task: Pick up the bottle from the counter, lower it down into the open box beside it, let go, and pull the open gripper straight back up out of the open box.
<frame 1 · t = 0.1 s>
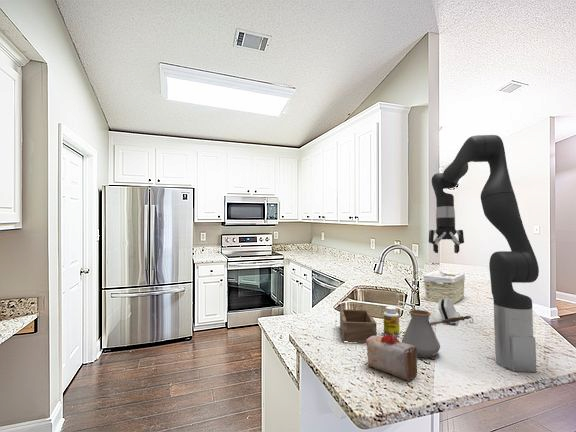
hand: (446, 253, 134), 29 cm above the counter, tool pointing down, fingers open, 8 cm apart
supplement bottle: (391, 335, 113), on the counter
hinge: (449, 320, 131), on the counter
food item: (390, 371, 85), on the counter
coffee pot: (436, 358, 93), on the counter
open box: (356, 334, 113), on the counter
storage basket: (444, 299, 170), on the counter
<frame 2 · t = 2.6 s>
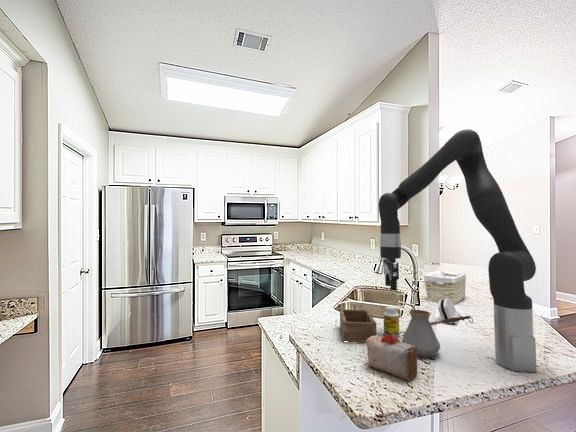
hand: (390, 288, 114), 18 cm above the counter, tool pointing down, fingers open, 8 cm apart
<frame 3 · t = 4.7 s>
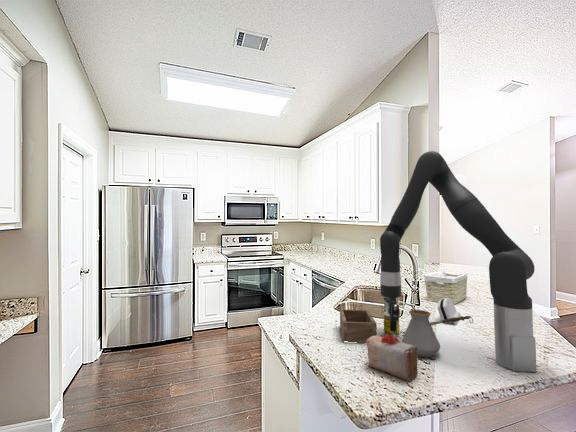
hand: (391, 328, 113), 3 cm above the counter, tool pointing down, fingers closed on supplement bottle, 5 cm apart
supplement bottle: (391, 335, 113), on the counter, touching gripper
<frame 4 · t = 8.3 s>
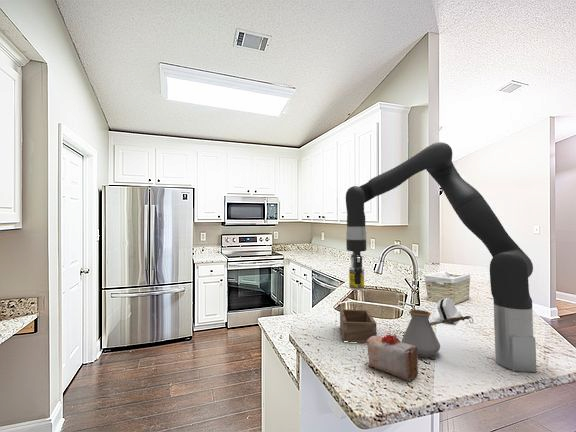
hand: (356, 282, 114), 20 cm above the counter, tool pointing down, fingers closed on supplement bottle, 5 cm apart
supplement bottle: (356, 289, 114), point 17 cm above the counter, touching gripper
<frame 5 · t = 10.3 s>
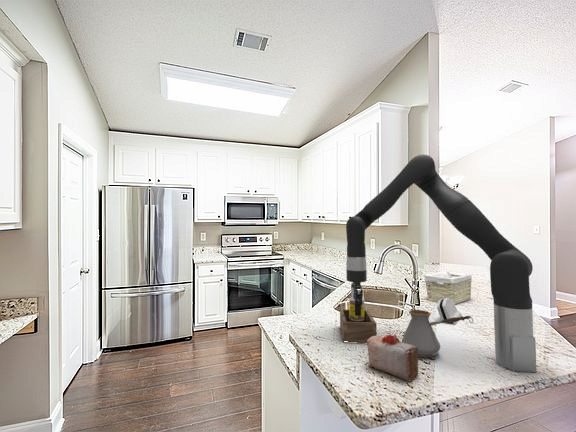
hand: (356, 312, 113), 8 cm above the counter, tool pointing down, fingers closed on supplement bottle, 5 cm apart
supplement bottle: (356, 320, 113), point 5 cm above the counter, touching gripper
when the fingers open (5 cm above the counter, at t = 11.9 s): supplement bottle drops 1 cm, resting on open box.
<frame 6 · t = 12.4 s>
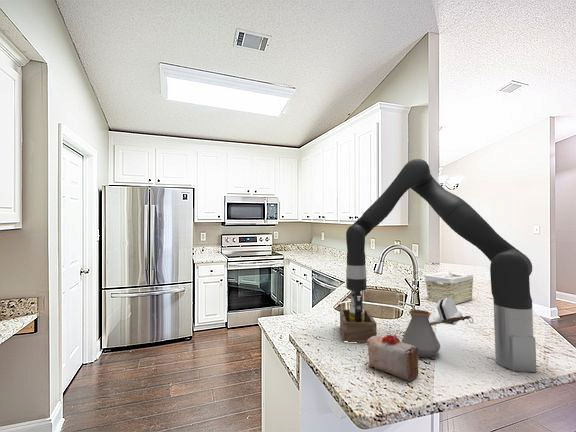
hand: (356, 319, 113), 6 cm above the counter, tool pointing down, fingers open, 8 cm apart
supplement bottle: (357, 332, 113), point 1 cm above the counter, touching open box
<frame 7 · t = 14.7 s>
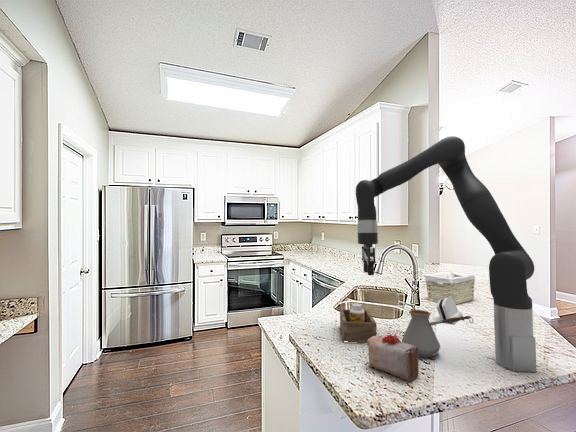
hand: (368, 273, 115), 23 cm above the counter, tool pointing down, fingers open, 8 cm apart
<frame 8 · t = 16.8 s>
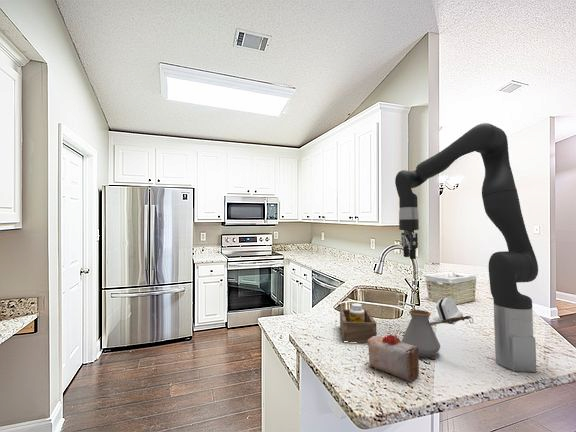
hand: (409, 257, 123), 28 cm above the counter, tool pointing down, fingers open, 8 cm apart
at the end: supplement bottle inside the target area on the open box (0.1 cm from its centre), point 0.8 cm above the open box's base; supplement bottle tilted 0°; the gripper is holding nothing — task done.
